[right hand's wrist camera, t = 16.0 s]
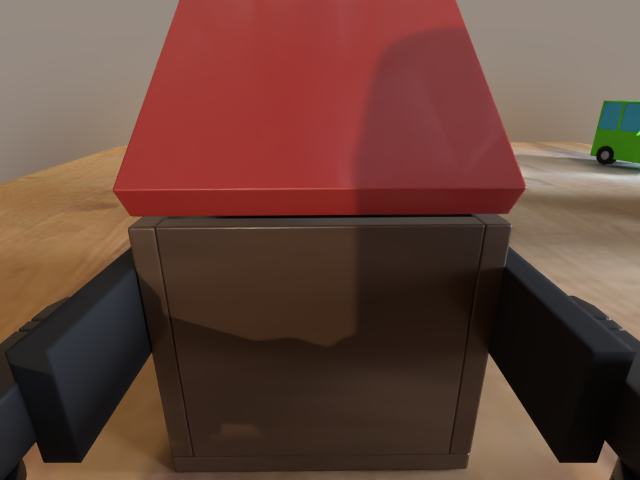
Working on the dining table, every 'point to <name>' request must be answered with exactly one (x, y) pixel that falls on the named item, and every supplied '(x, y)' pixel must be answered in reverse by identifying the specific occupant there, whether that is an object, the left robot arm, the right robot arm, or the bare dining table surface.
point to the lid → (318, 114)
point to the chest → (320, 336)
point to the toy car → (618, 133)
